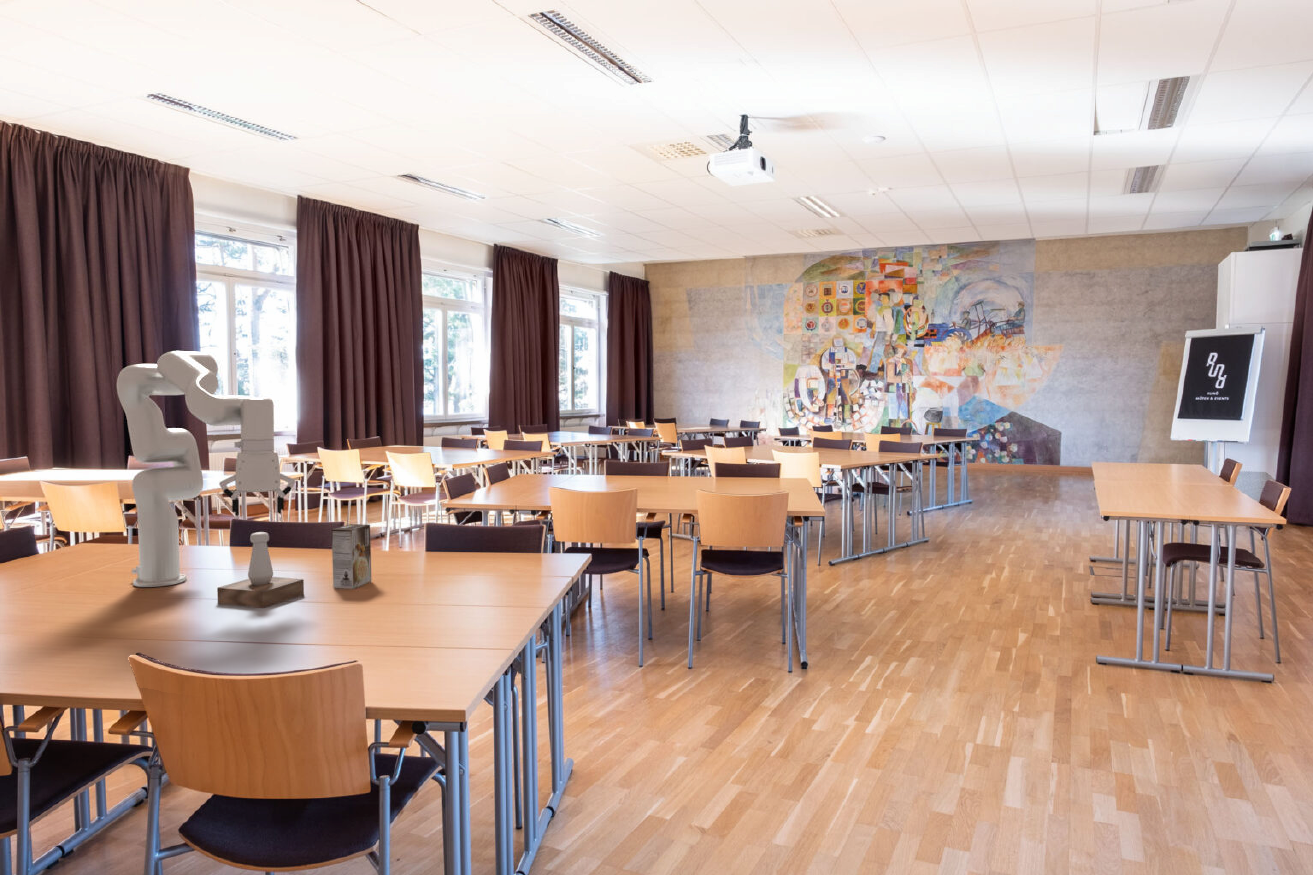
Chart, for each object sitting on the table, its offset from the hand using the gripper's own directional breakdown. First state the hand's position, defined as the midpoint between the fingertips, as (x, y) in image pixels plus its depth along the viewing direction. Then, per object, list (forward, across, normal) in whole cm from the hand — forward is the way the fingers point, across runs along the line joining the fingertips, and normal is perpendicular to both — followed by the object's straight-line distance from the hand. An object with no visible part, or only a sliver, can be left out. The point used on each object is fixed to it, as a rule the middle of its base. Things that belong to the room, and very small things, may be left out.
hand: (258, 513), depth 210 cm
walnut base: (+22, +1, -1) cm, 22 cm away
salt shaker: (+18, 0, -1) cm, 18 cm away
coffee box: (+22, +23, +5) cm, 32 cm away
